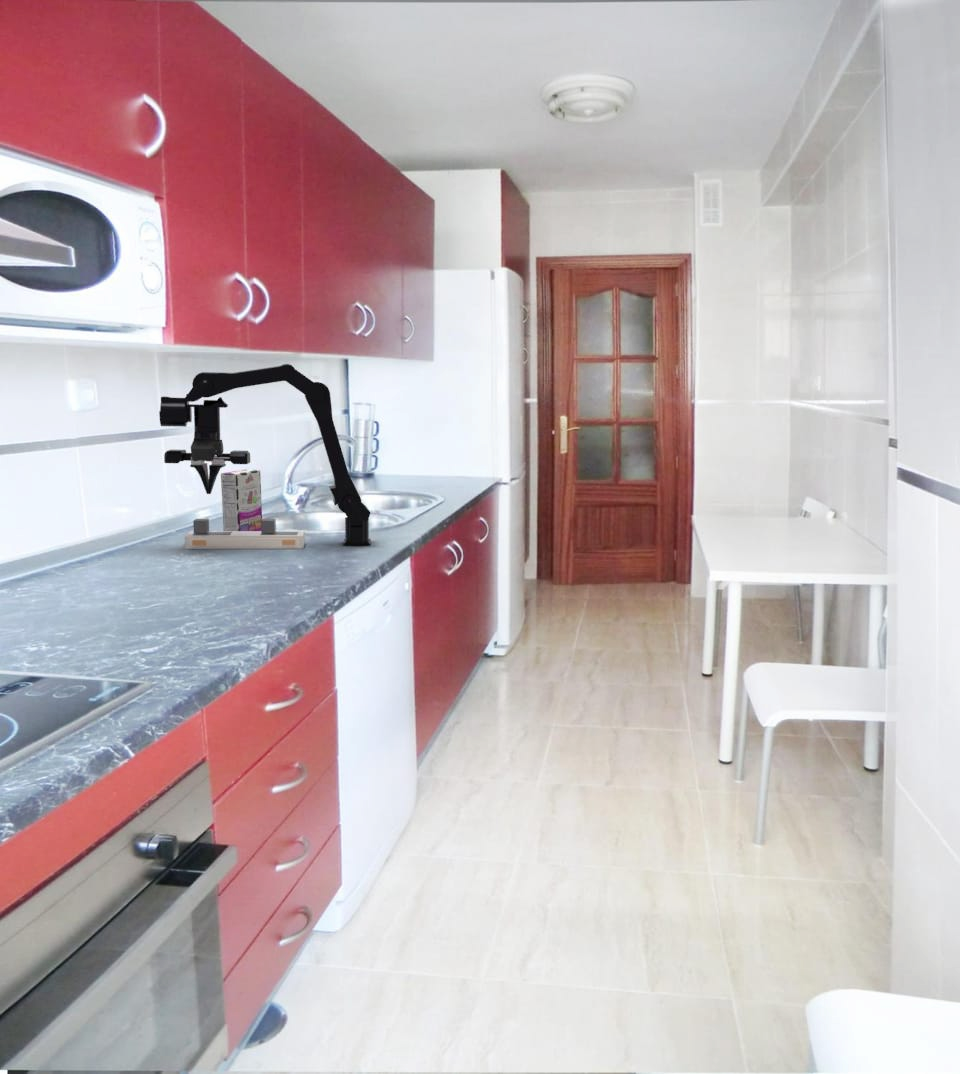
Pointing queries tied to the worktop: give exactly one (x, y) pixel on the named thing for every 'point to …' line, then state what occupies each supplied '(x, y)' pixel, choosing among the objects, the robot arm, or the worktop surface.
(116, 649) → the worktop surface
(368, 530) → the robot arm
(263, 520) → the inner tab
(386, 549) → the worktop surface
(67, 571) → the worktop surface
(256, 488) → the candy bar box
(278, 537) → the switch bank
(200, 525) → the outer tab
